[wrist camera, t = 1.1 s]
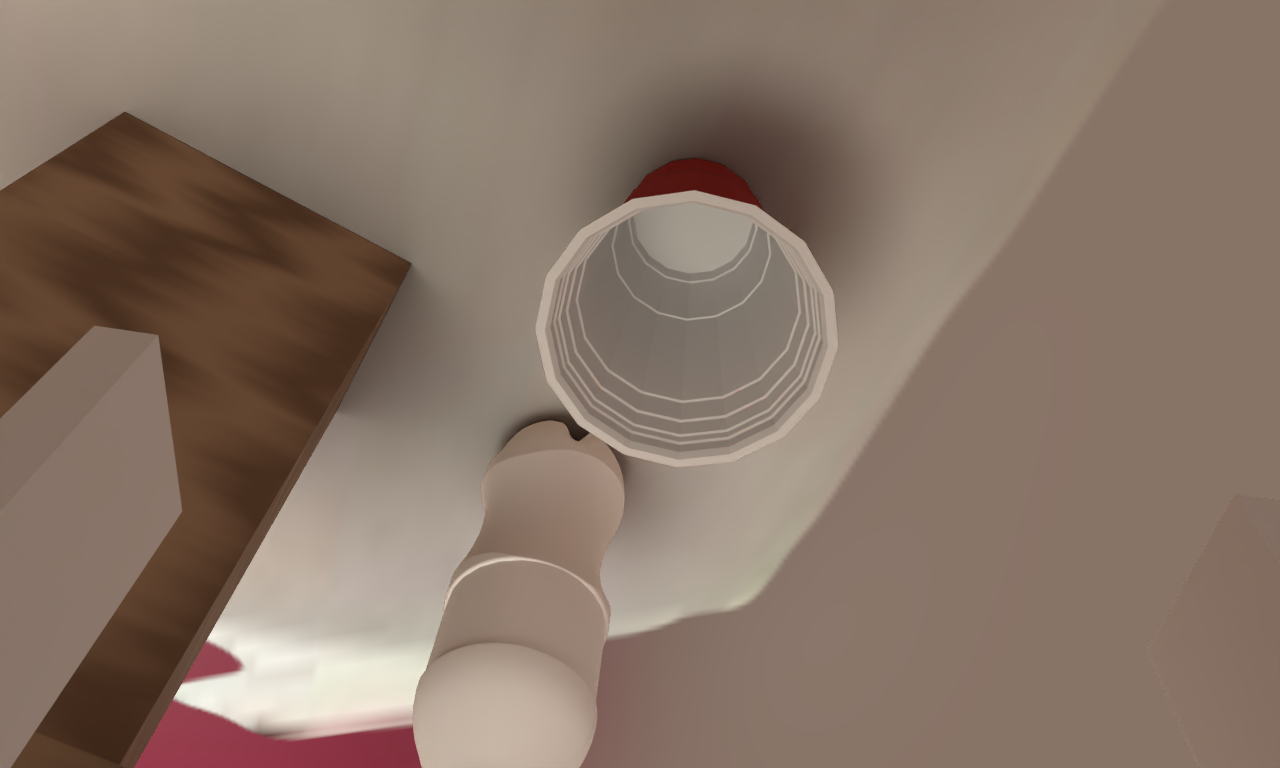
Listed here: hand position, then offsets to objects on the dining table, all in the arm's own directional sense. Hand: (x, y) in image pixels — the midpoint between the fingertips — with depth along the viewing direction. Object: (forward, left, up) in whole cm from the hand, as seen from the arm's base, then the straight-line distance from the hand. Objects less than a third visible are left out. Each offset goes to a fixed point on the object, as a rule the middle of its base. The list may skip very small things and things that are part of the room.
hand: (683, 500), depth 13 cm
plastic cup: (+10, -3, -34) cm, 36 cm away
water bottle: (+22, -13, -34) cm, 43 cm away
